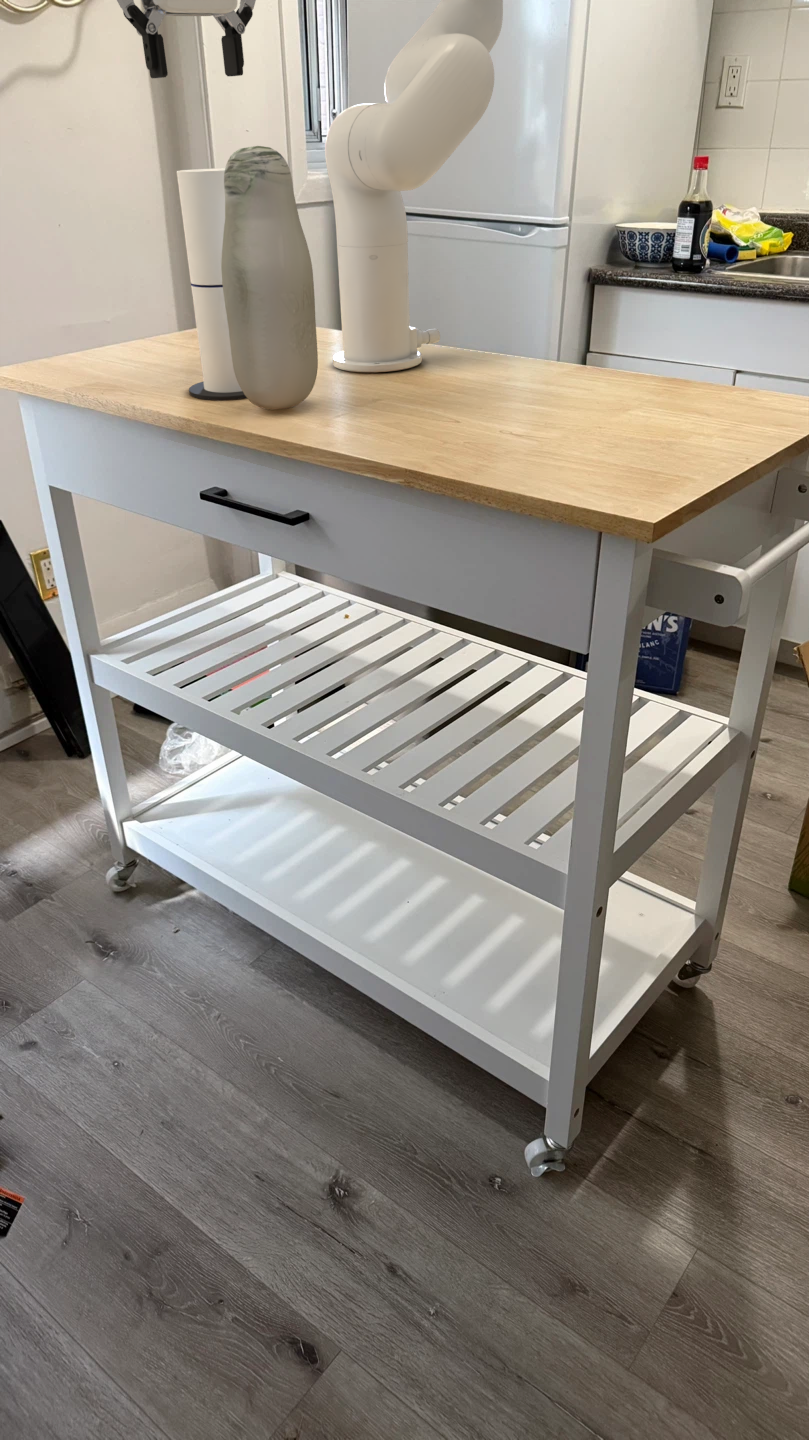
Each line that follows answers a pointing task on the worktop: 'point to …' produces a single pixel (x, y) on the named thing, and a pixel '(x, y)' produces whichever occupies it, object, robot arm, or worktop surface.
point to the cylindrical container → (208, 272)
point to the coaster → (213, 393)
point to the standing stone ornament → (267, 281)
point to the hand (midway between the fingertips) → (197, 76)
